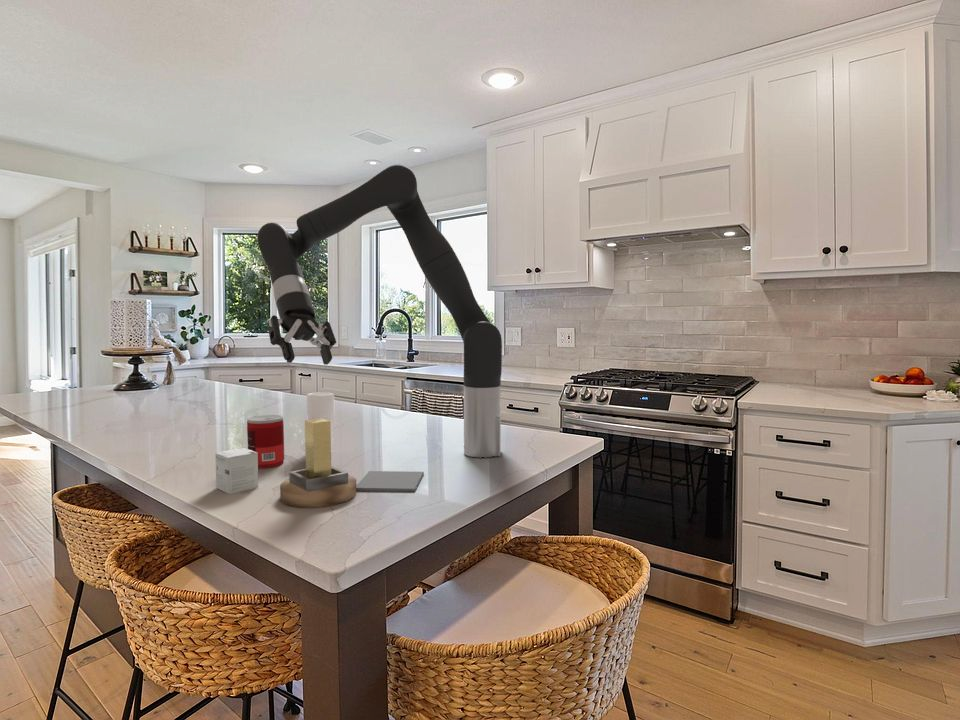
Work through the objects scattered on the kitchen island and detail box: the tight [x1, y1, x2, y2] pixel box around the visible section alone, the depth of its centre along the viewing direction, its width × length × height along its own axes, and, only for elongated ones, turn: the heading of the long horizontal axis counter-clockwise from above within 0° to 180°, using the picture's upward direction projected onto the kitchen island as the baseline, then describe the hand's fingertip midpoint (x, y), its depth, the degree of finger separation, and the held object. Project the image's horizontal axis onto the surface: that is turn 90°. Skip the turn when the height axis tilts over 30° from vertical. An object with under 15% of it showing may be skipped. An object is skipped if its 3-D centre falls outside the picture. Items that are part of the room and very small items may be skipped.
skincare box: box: [215, 447, 259, 495], centre depth 109 cm, size 6×6×7 cm
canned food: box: [246, 414, 285, 469], centre depth 127 cm, size 8×8×11 cm
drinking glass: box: [306, 391, 335, 452], centre depth 139 cm, size 7×7×15 cm
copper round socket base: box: [279, 465, 358, 509], centre depth 105 cm, size 14×14×4 cm
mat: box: [356, 470, 425, 492], centre depth 113 cm, size 12×12×1 cm
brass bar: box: [304, 418, 332, 479], centre depth 104 cm, size 4×4×12 cm
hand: (310, 361), depth 116 cm, fingers open, 8 cm apart
